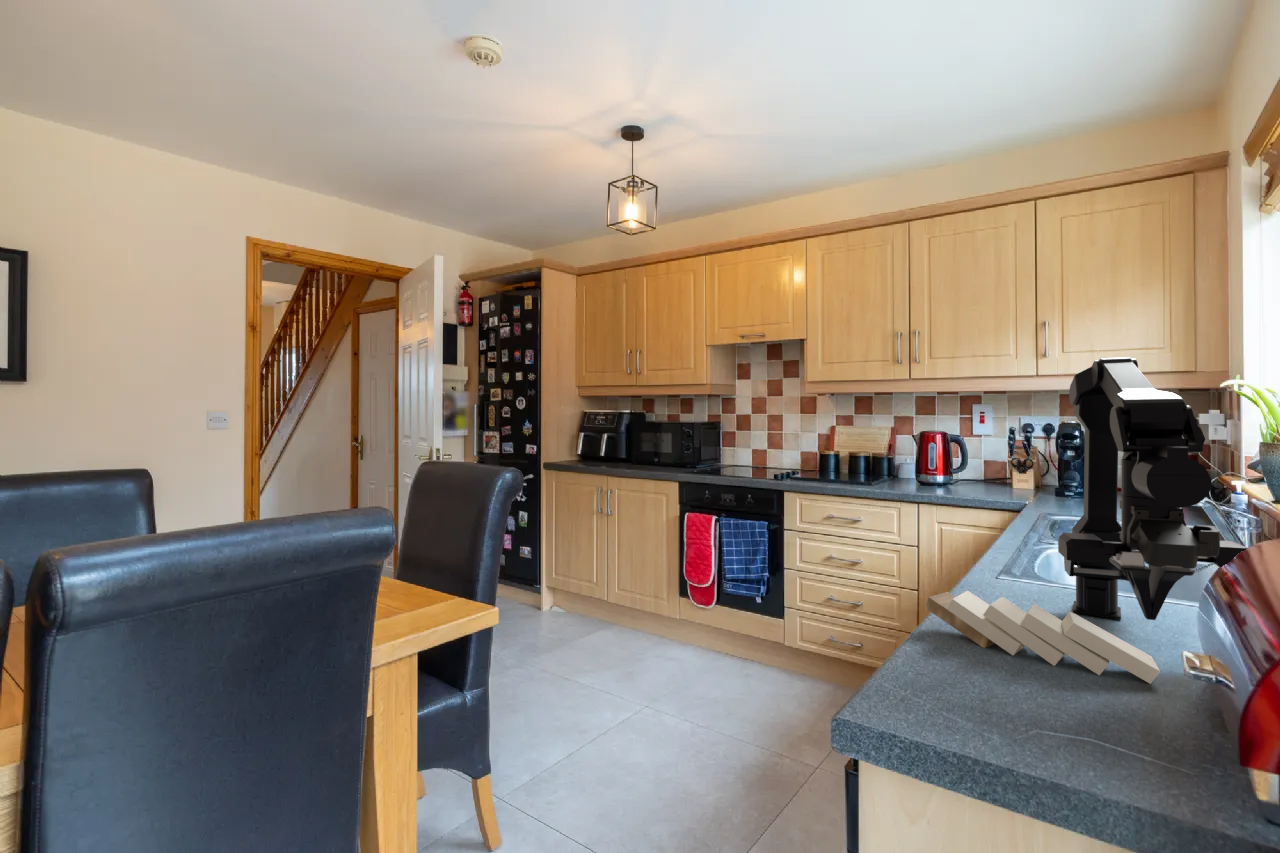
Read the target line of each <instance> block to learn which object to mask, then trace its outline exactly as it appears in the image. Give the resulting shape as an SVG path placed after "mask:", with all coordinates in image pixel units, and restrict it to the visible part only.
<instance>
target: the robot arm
mask: <svg viewBox="0 0 1280 853" xmlns="http://www.w3.org/2000/svg"><path fill="white" fill-rule="evenodd" d="M1138 364H1139V363H1138V361H1137V359H1136V358H1131V357H1127V356H1126V357H1107V358H1106V357H1104V358H1103V357H1101V358H1099V359H1097V360H1094V361H1093V363H1092V364H1091V366H1090V367H1087V368H1086V369H1084V370H1082V371H1080V372H1078V373H1076V374H1074V376H1073V379H1072V381H1071V384H1070V386H1069V391H1068V392H1069V393H1068V394H1069V395H1068V396H1069V403H1070V406H1073V415H1074V416H1075V418H1077V420H1078V421H1079V423H1080V425H1081V426H1082V428H1084V460H1083V461H1084V462H1083V463H1084V464H1083V465H1084V468H1083V469H1084V470H1083V471H1084V474H1083V475H1084V476H1083V477H1084V479H1083V515H1082V516H1081V517H1080V518H1079V519H1078V521H1077V522H1076V523H1075V524H1074V525H1073V527H1072V529H1071V532H1062V533H1061V534H1060V535H1059V536H1058V539H1057V540H1058V541H1057V543H1058V545H1057V546H1058V548H1057V552H1058V553H1059V554H1060V555H1061V556H1062V557H1063V562H1064V563H1063V564H1064V571H1065V572H1066V574H1067V575H1068V576H1069V577H1075V600H1074V601H1073V604H1072V611H1071V612H1072V613H1074V614H1078V615H1079V614H1080V615H1086V616H1087V615H1088V616H1094V617H1100V618H1107V619H1115V620H1122V610H1121V608H1122V607H1120V606H1119V604H1118V602H1119V596H1118V595H1119V593H1118V591H1119V590H1118V587H1119V583H1118V582H1119V581H1126V582H1128V583H1129V584H1130V586H1131V589H1132V591H1133V593H1134V595H1135V598H1136V600H1137V603H1138V604H1139V607H1140V609H1141V611H1142V613H1143V616H1144V618H1145V619H1146V620H1150V621H1151V620H1152V621H1156V619H1157V618H1158V615H1159V613H1160V611H1161V609H1162V607H1163V604H1165V601H1166V599H1167V597H1168V595H1169V593H1170V591H1171V590H1172V588H1173V587H1174V586H1175V584H1176V583H1177V582H1178V581H1179V580H1181V579H1182V578H1184V577H1185V576H1190V577H1191V576H1194V574H1195V571H1194V570H1192V569H1195V568H1197V566H1198V563H1201V562H1202V563H1214V565H1216V566H1217V567H1218V569H1219V568H1221V567H1222V566H1223V565H1225V564H1227V563H1228V562H1230V561H1231V560H1232V559H1233V558H1234V557H1235V556H1236V555H1237V554H1238V553H1240V552H1241V551H1244V550H1246V549H1248V548H1249V547H1247V546H1244V545H1242V544H1239V543H1237V542H1234V541H1232V540H1221V538H1220V531H1219V530H1218V529H1217V527H1216V526H1215V525H1202V524H1201V525H1200V524H1198V525H1197V524H1196V525H1193V526H1187V524H1186V521H1185V513H1184V508H1188V507H1189V508H1190V507H1192V506H1195V505H1197V504H1199V503H1200V502H1202V501H1203V500H1205V499H1206V497H1208V495H1209V494H1210V492H1211V489H1212V485H1213V484H1212V478H1211V476H1210V474H1209V472H1208V470H1207V469H1206V468H1205V466H1204V465H1203V464H1201V463H1200V462H1199V461H1197V460H1195V459H1193V458H1190V457H1189V454H1190V453H1193V454H1194V453H1197V454H1198V453H1199V454H1200V453H1203V451H1204V445H1205V444H1204V443H1205V440H1206V438H1205V435H1204V433H1203V430H1202V427H1201V425H1200V423H1199V421H1198V418H1197V415H1196V414H1195V413H1194V412H1193V409H1192V407H1191V406H1190V405H1187V404H1188V403H1187V402H1186V400H1185V399H1184V398H1182V397H1181V396H1180V395H1178V394H1176V393H1174V392H1171V391H1170V392H1169V391H1166V390H1165V391H1164V390H1159V389H1156V388H1155V387H1154V386H1153V385H1152V383H1151V382H1150V380H1148V378H1146V376H1145V375H1144V374H1143V372H1142V371H1141V370H1140V369H1139V365H1138ZM1119 452H1121V453H1123V454H1122V457H1121V464H1120V465H1121V468H1120V469H1121V472H1120V473H1121V475H1120V476H1121V479H1120V480H1121V481H1120V482H1121V483H1120V484H1121V494H1120V495H1121V500H1119V509H1121V524H1120V523H1119V522H1118V478H1119V476H1118V475H1119V474H1118V473H1119V470H1118V469H1119ZM1145 563H1146V564H1147V565H1148V566H1147V565H1145Z"/></svg>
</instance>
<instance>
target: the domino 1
mask: <svg viewBox="0 0 1280 853" xmlns="http://www.w3.org/2000/svg"><path fill="white" fill-rule="evenodd" d="M955 597H956V596H955V595H954V594H952V593H950V592H949V591H946V592H942V593H939V594H936V595H935V594H934V595H931V596H929V597H928V598H927V601H926V603H925V607H924V609H926V610H927V611H928V612H930V613H931V614H933V615H935V616H936V617H938V618H939V619H940V620H942V621H943V622H945V623H946V624H948V625H950V626H951V627H952V628H953V629H955V630H957V631H958V632H959V633H961V634H962V635H963V636H966V637H967V638H968V639H970V640H971V641H973V642H974V643H976V644H977V645H979V646H980V647H981V648H984V649H986V648H988V647H991V646H993V645H997V644H996V643H994V642H993V641H991V640H990V639H988V638H987V637H986V636H984V635H983V634H981V633H980V632H978V631H977V630H976V629H974V628H973V627H971V626H970V625H969V624H967V623H966V622H964V621H963V620H961V619H960V618H959V617H957V616H956V615H954V614H953V613H951V612H950V611H949V610H947V608H948V606H949V605H950V603H951V601H952V599H953V598H955Z"/></svg>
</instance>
